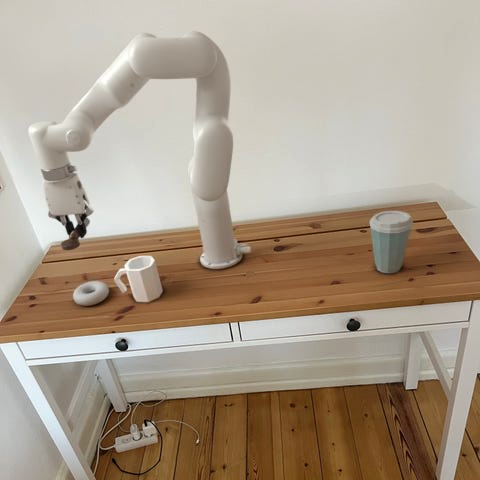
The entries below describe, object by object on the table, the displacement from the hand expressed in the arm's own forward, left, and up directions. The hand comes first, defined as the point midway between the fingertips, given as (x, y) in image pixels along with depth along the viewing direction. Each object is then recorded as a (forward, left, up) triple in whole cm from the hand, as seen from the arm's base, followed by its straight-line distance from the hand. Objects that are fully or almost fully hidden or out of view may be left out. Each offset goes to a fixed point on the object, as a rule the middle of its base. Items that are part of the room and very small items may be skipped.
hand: (78, 235), depth 149 cm
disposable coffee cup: (-84, +3, -16) cm, 86 cm away
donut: (-2, +8, -16) cm, 18 cm away
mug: (-16, +8, -16) cm, 24 cm away
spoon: (0, 0, 0) cm, 0 cm away
